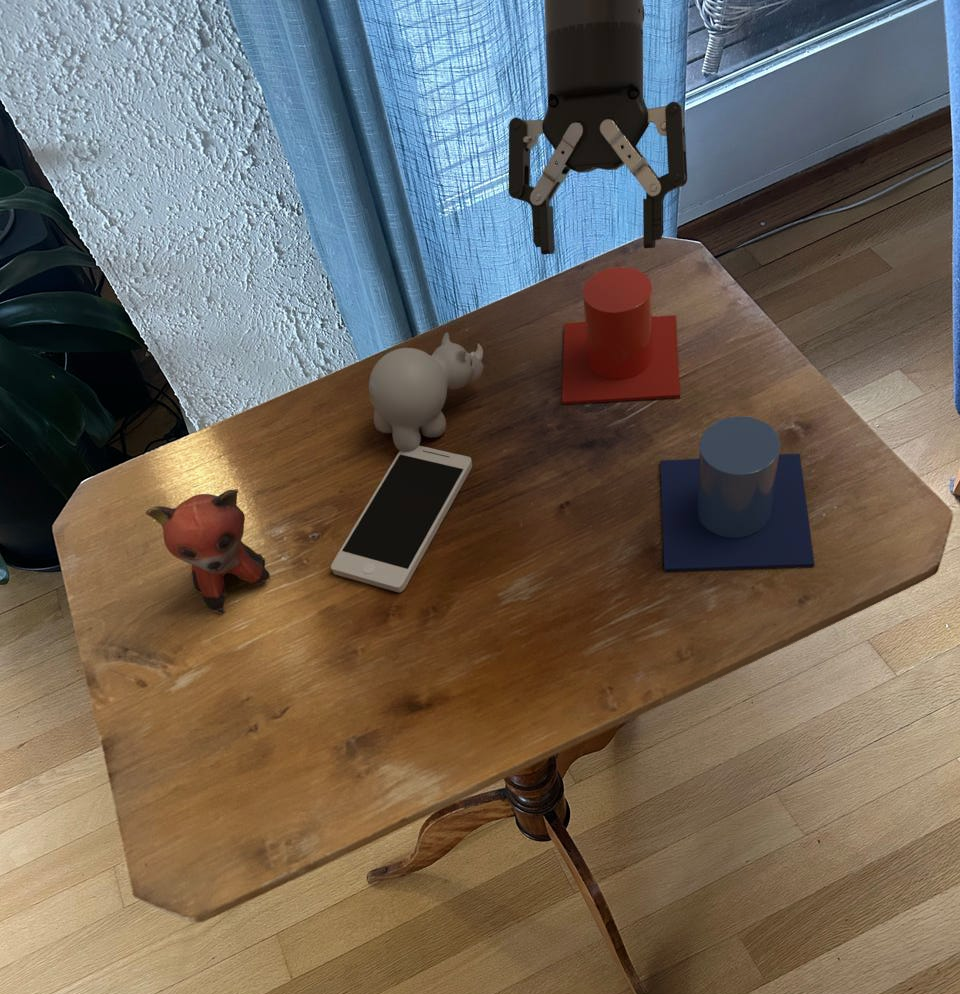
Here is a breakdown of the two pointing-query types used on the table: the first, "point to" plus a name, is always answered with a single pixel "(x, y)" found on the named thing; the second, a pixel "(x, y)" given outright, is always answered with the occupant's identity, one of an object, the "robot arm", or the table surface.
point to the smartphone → (402, 518)
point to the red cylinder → (618, 322)
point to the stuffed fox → (210, 543)
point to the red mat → (649, 384)
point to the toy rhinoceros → (419, 389)
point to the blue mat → (704, 550)
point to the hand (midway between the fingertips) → (598, 251)
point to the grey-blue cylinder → (737, 476)
